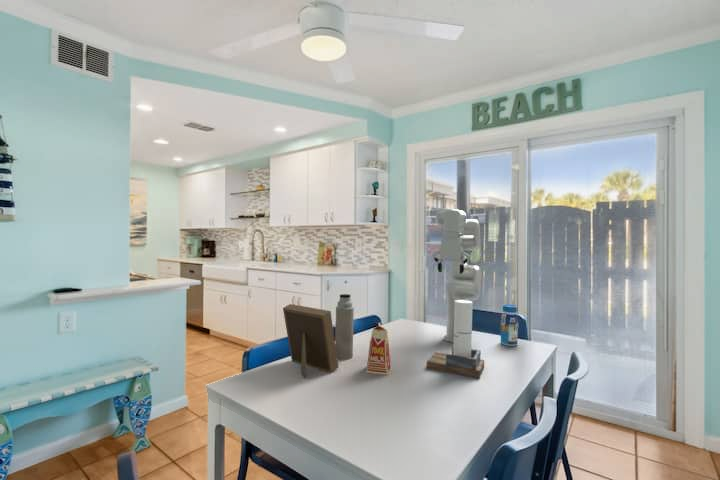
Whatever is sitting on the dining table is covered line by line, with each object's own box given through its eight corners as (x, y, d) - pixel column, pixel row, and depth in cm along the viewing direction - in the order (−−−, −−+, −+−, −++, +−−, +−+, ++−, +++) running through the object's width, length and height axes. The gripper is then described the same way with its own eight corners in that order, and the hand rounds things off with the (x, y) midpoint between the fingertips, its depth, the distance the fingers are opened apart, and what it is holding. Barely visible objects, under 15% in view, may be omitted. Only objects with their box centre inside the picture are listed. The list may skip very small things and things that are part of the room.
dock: (435, 358, 162) (435, 343, 162) (484, 367, 152) (484, 350, 152) (426, 368, 149) (427, 352, 149) (479, 378, 140) (479, 360, 140)
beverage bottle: (500, 340, 193) (501, 303, 192) (518, 343, 189) (519, 305, 189) (499, 344, 185) (500, 306, 185) (517, 347, 181) (518, 307, 181)
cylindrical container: (467, 365, 145) (468, 303, 144) (450, 361, 149) (451, 301, 149) (473, 360, 150) (475, 301, 150) (457, 357, 155) (458, 299, 154)
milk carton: (388, 375, 141) (389, 324, 141) (365, 373, 143) (366, 323, 143) (391, 367, 150) (392, 319, 150) (369, 365, 152) (370, 317, 152)
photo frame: (298, 358, 158) (299, 301, 157) (338, 369, 146) (339, 308, 145) (273, 369, 145) (273, 307, 145) (314, 382, 133) (315, 315, 133)
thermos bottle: (336, 353, 166) (337, 292, 166) (353, 354, 165) (354, 293, 165) (333, 359, 158) (334, 295, 158) (351, 360, 157) (352, 296, 157)
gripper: (471, 236, 167) (471, 273, 167) (435, 235, 174) (434, 270, 175) (469, 236, 160) (468, 274, 160) (431, 235, 168) (430, 272, 168)
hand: (450, 272), depth 168 cm, fingers open, 9 cm apart
